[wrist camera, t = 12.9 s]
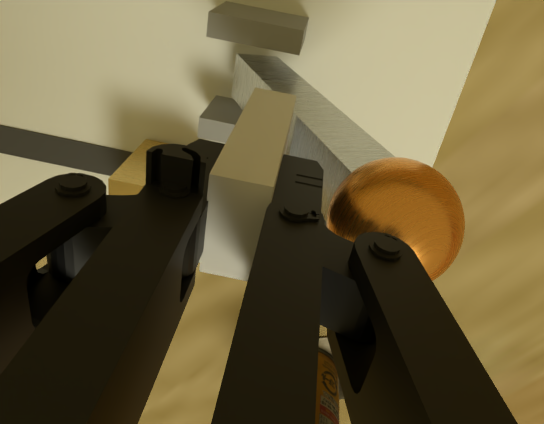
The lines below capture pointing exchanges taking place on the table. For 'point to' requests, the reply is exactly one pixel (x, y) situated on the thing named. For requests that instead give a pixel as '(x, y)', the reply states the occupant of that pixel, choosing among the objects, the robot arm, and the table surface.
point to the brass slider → (131, 172)
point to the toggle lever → (361, 171)
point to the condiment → (327, 387)
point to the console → (217, 73)
